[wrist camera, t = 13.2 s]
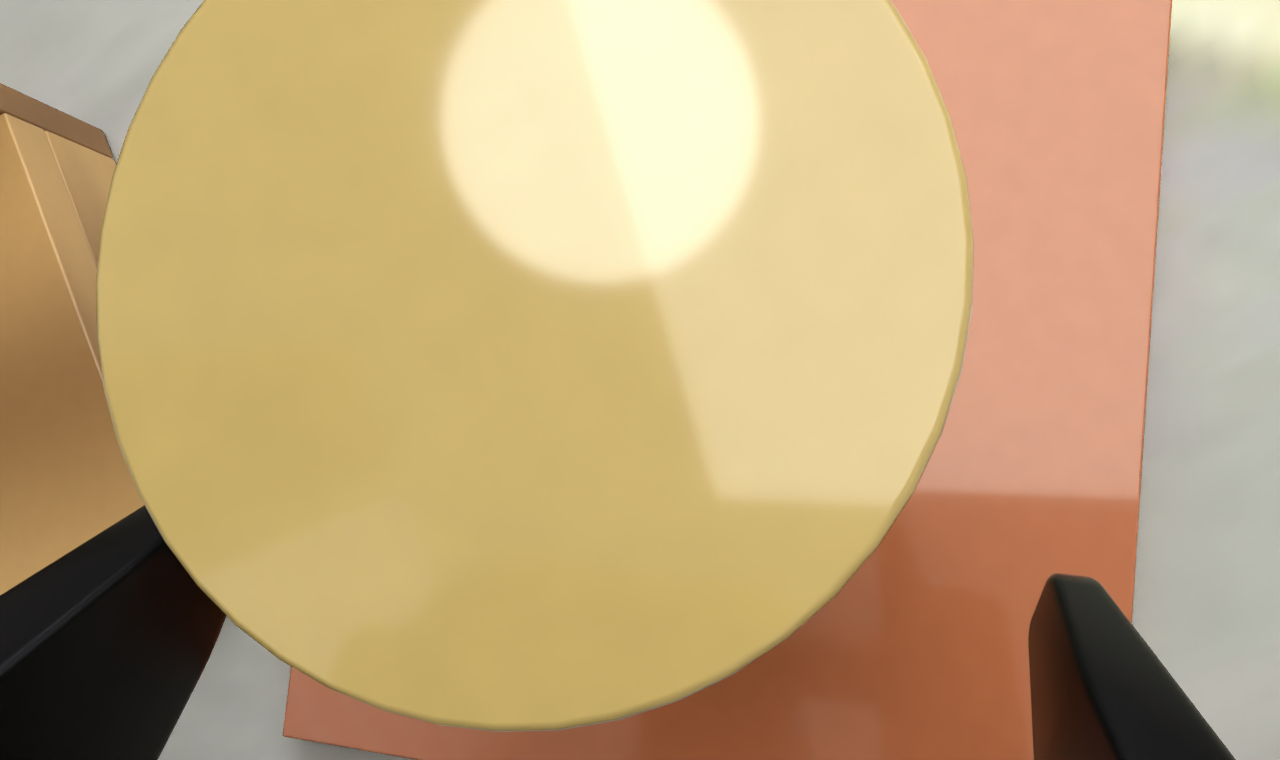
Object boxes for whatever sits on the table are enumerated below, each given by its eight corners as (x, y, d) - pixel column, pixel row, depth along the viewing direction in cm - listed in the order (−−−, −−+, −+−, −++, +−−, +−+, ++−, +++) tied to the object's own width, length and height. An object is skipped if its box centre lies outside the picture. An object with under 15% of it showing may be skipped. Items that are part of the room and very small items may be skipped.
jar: (622, 594, 17) (236, 915, 5) (508, 317, 18) (-41, 60, 6) (912, 474, 17) (1216, 533, 5) (780, 191, 17) (748, -379, 5)
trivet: (1101, 862, 16) (1115, 882, 16) (302, 725, 19) (281, 737, 18) (1156, 15, 17) (1174, -6, 16) (389, 5, 20) (373, -13, 19)
